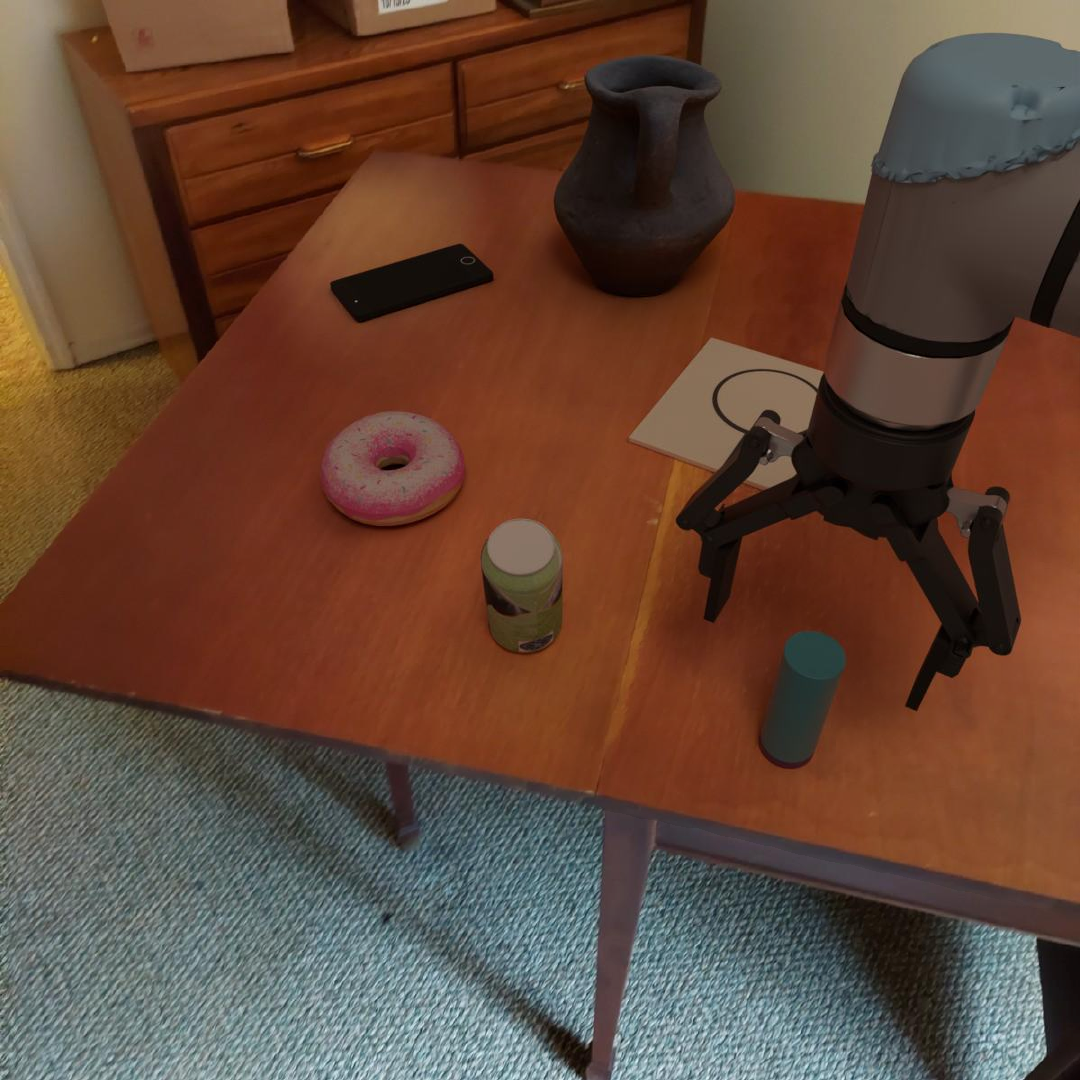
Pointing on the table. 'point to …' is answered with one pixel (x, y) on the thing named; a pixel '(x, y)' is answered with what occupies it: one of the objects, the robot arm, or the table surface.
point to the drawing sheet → (729, 408)
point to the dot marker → (801, 698)
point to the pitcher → (644, 175)
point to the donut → (398, 492)
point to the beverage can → (523, 585)
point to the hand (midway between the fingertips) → (812, 649)
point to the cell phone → (410, 281)
